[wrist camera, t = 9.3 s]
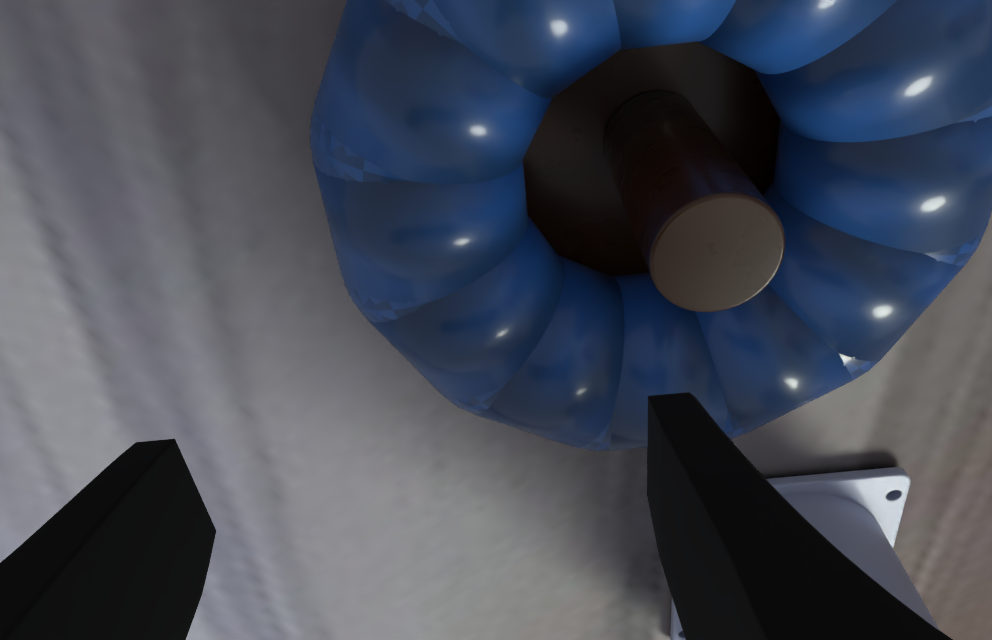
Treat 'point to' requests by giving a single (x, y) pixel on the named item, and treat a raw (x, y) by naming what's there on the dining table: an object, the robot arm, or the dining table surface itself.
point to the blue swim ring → (634, 298)
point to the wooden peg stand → (662, 174)
